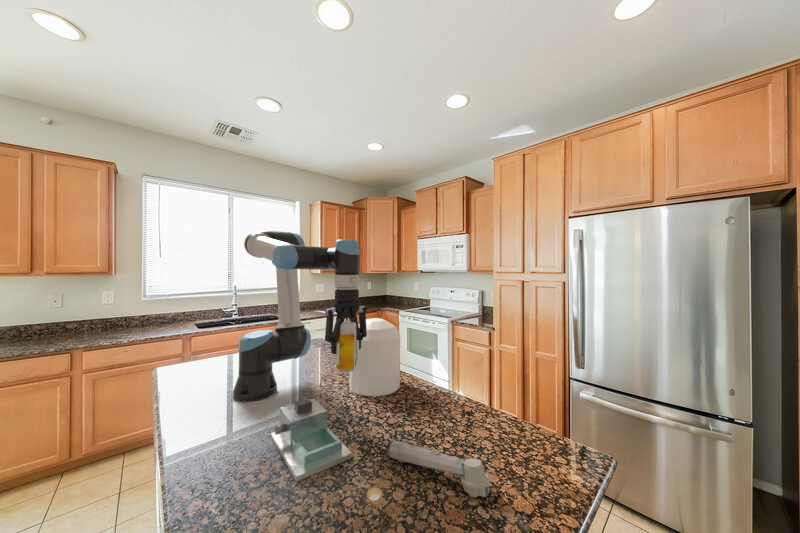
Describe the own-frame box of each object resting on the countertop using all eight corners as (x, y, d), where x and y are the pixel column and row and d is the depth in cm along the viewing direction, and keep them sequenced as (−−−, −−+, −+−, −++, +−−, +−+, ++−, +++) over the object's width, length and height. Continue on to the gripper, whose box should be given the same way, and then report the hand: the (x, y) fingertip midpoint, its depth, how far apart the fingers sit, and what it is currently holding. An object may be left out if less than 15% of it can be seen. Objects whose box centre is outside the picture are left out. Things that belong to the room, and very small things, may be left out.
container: (409, 382, 124) (409, 316, 124) (380, 401, 106) (380, 324, 107) (370, 373, 135) (371, 312, 136) (338, 388, 117) (338, 318, 118)
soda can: (337, 366, 95) (338, 320, 95) (356, 366, 95) (357, 320, 95) (335, 373, 88) (335, 323, 89) (355, 372, 89) (355, 323, 89)
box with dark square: (269, 437, 82) (269, 401, 83) (318, 421, 91) (318, 389, 91) (294, 482, 65) (295, 436, 65) (352, 457, 74) (352, 417, 74)
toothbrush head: (396, 435, 77) (489, 454, 64) (398, 461, 77) (494, 486, 64) (384, 445, 73) (482, 467, 60) (387, 473, 72) (487, 502, 59)
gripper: (323, 290, 83) (322, 371, 83) (378, 288, 95) (378, 359, 95) (313, 288, 89) (312, 364, 89) (366, 287, 101) (366, 354, 101)
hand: (346, 361), depth 92 cm, fingers closed on soda can, 6 cm apart
